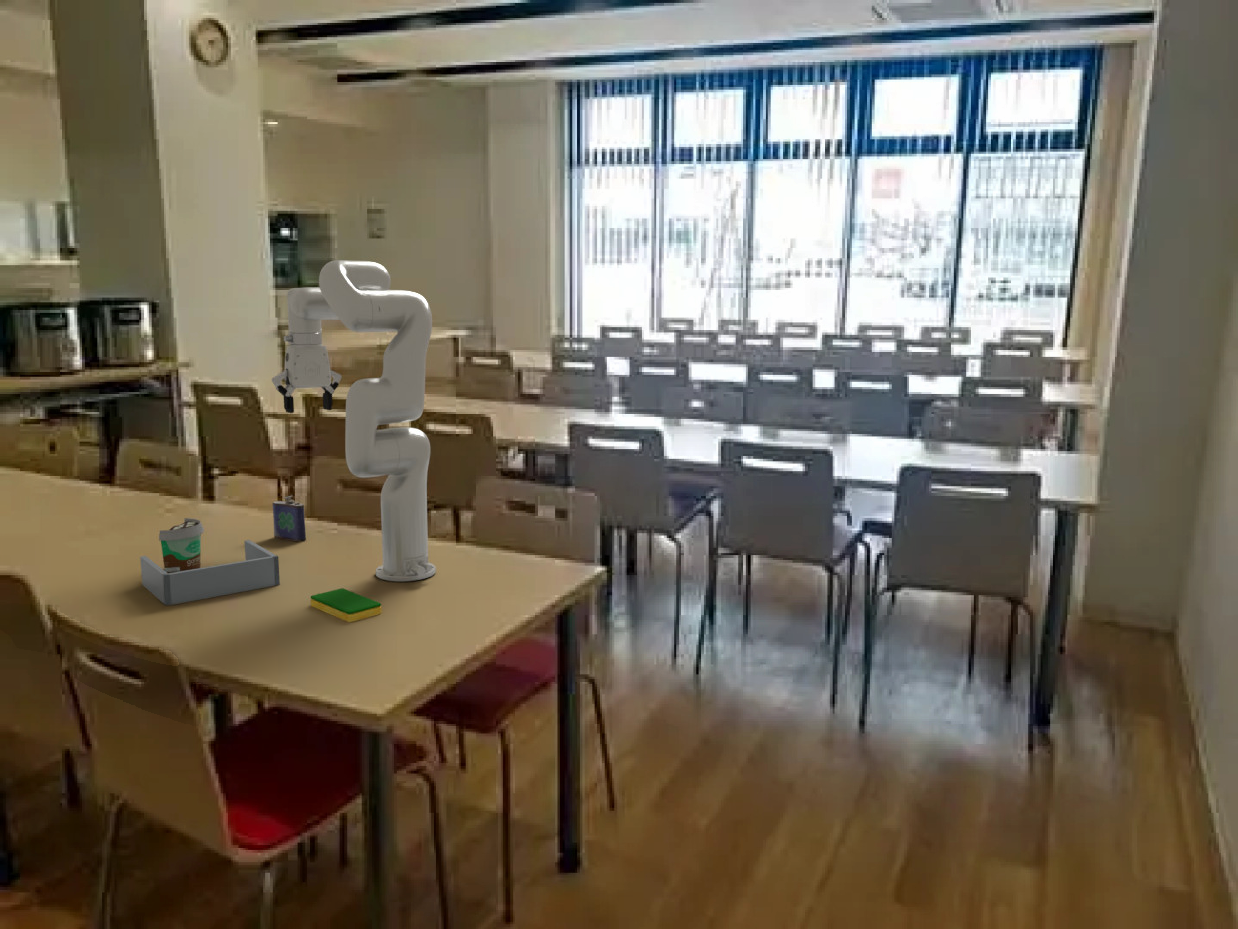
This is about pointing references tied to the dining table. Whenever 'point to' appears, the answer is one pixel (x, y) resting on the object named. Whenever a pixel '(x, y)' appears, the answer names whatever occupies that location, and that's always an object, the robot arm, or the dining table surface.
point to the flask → (289, 520)
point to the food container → (182, 546)
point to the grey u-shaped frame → (212, 577)
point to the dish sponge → (346, 605)
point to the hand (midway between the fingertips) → (308, 410)
